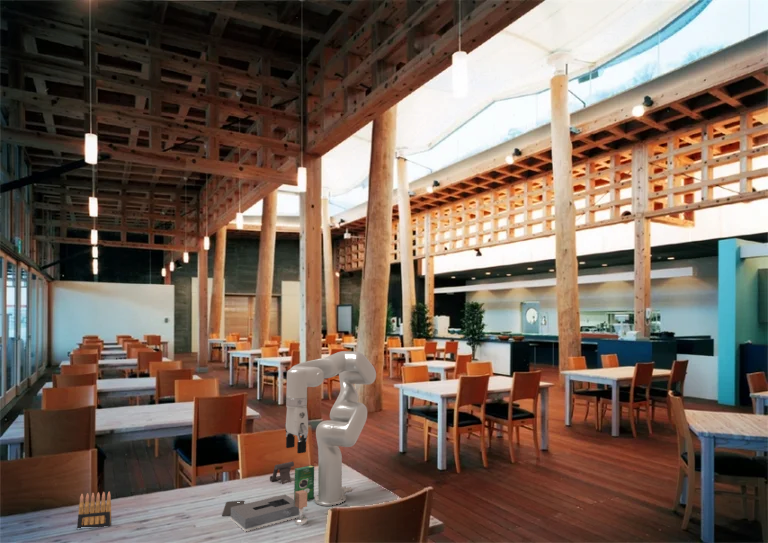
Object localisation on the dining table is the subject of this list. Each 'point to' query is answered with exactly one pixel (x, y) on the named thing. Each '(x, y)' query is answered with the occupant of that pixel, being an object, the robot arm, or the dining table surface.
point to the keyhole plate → (264, 512)
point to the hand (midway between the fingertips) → (295, 450)
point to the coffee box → (305, 481)
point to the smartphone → (228, 507)
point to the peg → (301, 506)
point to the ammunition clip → (94, 511)
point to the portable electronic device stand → (282, 472)
